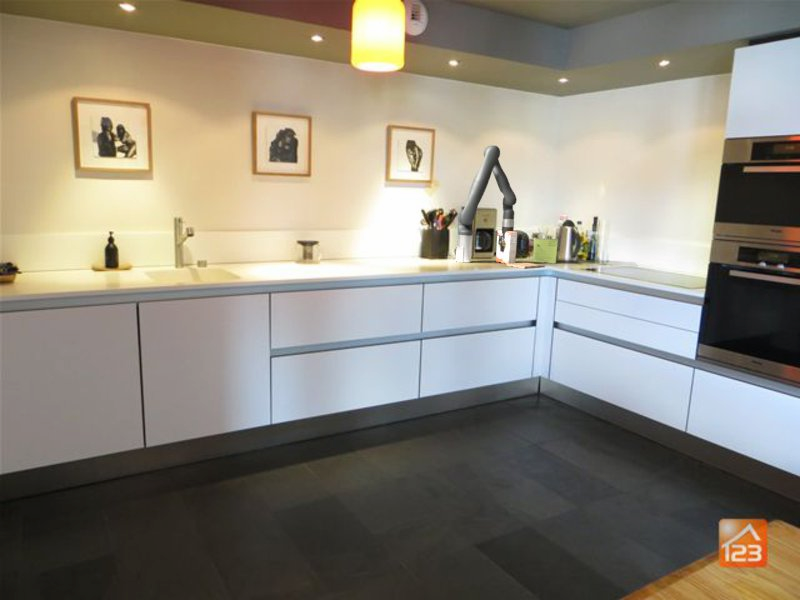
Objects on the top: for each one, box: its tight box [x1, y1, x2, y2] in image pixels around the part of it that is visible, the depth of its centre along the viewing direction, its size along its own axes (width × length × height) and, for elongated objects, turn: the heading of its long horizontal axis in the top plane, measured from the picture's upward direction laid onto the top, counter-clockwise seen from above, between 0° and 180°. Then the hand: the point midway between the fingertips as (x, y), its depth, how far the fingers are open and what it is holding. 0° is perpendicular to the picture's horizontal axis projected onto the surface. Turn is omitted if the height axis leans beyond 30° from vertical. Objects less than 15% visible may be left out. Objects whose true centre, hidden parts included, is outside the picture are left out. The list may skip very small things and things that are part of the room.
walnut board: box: [505, 262, 545, 269], centre depth 361 cm, size 20×14×1 cm
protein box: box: [532, 237, 559, 264], centre depth 392 cm, size 10×15×16 cm
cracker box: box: [495, 229, 518, 265], centre depth 373 cm, size 14×6×21 cm, turn 25°
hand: (506, 251), depth 373 cm, fingers open, 8 cm apart
